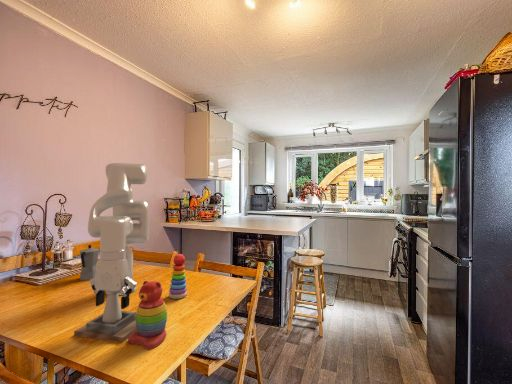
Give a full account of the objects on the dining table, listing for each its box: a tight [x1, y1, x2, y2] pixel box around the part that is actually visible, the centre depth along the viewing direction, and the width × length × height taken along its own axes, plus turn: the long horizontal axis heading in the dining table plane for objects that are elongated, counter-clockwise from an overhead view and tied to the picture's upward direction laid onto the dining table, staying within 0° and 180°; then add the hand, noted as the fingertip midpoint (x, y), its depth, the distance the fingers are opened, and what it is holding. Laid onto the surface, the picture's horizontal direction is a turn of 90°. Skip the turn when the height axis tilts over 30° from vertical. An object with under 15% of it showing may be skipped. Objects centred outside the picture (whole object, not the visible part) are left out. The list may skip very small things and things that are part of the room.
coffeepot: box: [79, 244, 100, 282], centre depth 144 cm, size 15×9×18 cm, turn 9°
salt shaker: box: [102, 291, 122, 324], centre depth 90 cm, size 6×6×13 cm
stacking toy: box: [168, 253, 188, 300], centre depth 120 cm, size 8×8×19 cm
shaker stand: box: [73, 310, 137, 343], centre depth 90 cm, size 18×12×4 cm, turn 78°
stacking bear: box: [127, 280, 168, 350], centre depth 85 cm, size 11×10×18 cm
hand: (112, 305), depth 90 cm, fingers open, 9 cm apart
